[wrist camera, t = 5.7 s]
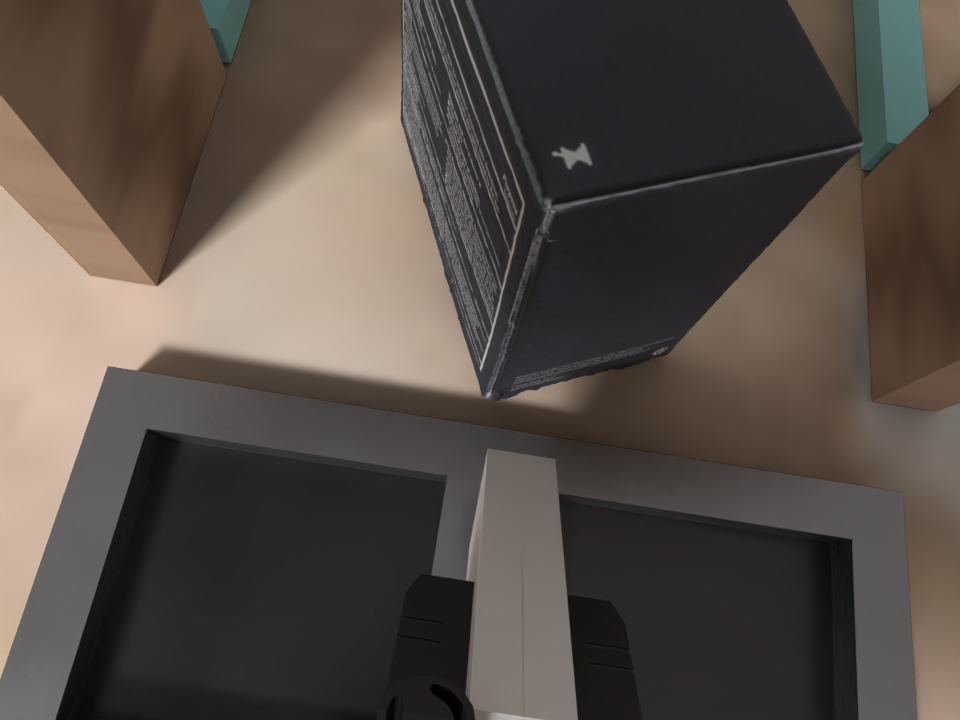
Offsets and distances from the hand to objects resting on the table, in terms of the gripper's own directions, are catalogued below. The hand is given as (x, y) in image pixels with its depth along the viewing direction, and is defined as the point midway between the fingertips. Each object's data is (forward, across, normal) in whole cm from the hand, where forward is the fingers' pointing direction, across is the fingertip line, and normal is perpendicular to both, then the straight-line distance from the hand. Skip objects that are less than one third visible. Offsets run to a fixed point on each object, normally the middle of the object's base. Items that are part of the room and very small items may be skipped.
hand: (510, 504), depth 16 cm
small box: (+10, 0, +4) cm, 10 cm away
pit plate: (+1, 0, -5) cm, 5 cm away
